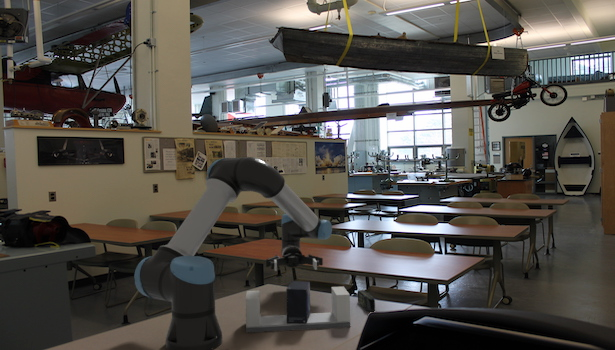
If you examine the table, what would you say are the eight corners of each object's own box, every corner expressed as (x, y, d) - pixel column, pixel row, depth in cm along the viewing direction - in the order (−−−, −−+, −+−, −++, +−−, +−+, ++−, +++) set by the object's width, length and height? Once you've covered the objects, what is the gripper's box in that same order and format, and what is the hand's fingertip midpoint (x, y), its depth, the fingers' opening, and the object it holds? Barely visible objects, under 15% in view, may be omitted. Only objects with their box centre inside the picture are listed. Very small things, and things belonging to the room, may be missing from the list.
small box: (307, 324, 132) (307, 288, 132) (286, 324, 133) (285, 288, 133) (311, 313, 143) (310, 280, 143) (291, 313, 144) (290, 280, 144)
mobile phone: (356, 289, 161) (370, 299, 146) (364, 288, 161) (378, 298, 147) (356, 303, 161) (370, 314, 146) (364, 302, 161) (379, 313, 147)
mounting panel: (246, 332, 131) (246, 326, 131) (247, 321, 141) (247, 316, 141) (350, 326, 134) (350, 321, 134) (344, 316, 144) (344, 311, 144)
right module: (337, 321, 134) (336, 295, 134) (332, 311, 144) (331, 287, 144) (350, 321, 134) (349, 294, 134) (344, 311, 144) (343, 286, 144)
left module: (246, 326, 131) (245, 299, 131) (247, 316, 141) (246, 291, 141) (260, 326, 132) (259, 298, 132) (260, 315, 142) (259, 290, 142)
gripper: (324, 264, 174) (332, 276, 152) (259, 266, 171) (258, 278, 150) (324, 245, 174) (332, 254, 153) (259, 247, 171) (258, 256, 150)
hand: (295, 266), depth 151 cm, fingers open, 13 cm apart
